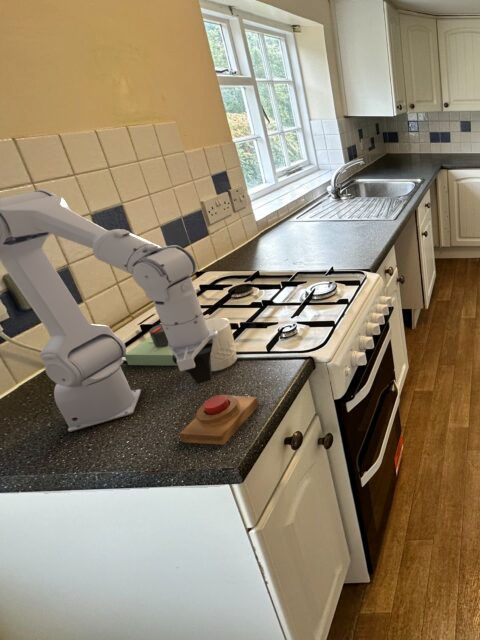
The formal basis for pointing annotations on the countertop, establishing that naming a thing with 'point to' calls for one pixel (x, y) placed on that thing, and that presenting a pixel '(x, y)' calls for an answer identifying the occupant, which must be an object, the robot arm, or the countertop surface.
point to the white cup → (221, 344)
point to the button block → (219, 422)
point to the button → (216, 404)
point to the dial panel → (149, 354)
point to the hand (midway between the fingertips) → (204, 379)
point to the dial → (158, 336)
